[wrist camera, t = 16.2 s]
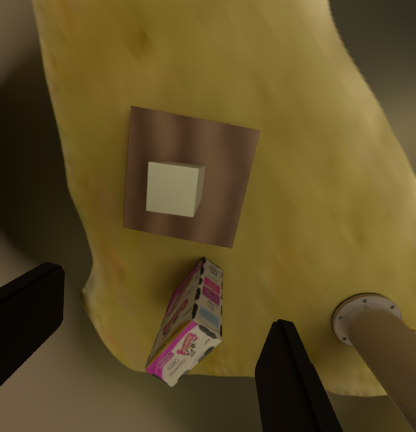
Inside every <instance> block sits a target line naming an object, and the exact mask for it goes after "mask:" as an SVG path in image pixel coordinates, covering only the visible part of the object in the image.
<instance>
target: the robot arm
mask: <svg viewBox="0 0 416 432" xmlns="http://www.w3.org/2000/svg"><path fill="white" fill-rule="evenodd" d="M64 274H65V272H64V270H63V269H62V267H61V266H60V265H57V264H53V263H49V262H45V263H42V264H41V265H39V266H37V267H35V268H34V269H32V270H30V271H28V272H27V273H25V274H23V275H21V276H20V277H18V278H16V279H14V280H13V281H11V282H9V283H7V284H6V285H4V286H2V287H0V386H1V385H2V384H3V383H4V382H5V381H6V380H7V379H8V378H9V377H10V376H11V375H12V374H13V373H14V372H15V371H16V370H17V369H18V368H19V367H20V366H21V365H22V364H23V363H24V362H25V361H26V360H27V359H28V358H29V357H30V356H31V355H32V354H33V353H34V352H35V351H36V350H37V349H38V348H39V347H40V346H41V345H42V344H43V342H45V341H46V340H47V339H48V338H49V337H50V336H51V335H52V334H53V333H54V332H55V331H56V330H57V329H58V327H59V326H60V325H61V323H62V321H63V306H64V305H63V304H64V276H65V275H64ZM332 327H333V330H334V332H335V334H336V335H337V337H338V338H339V339H340V340H341V341H342V342H344V343H345V344H347V345H349V346H352V347H355V349H356V350H357V352H358V353H359V355H360V356H361V357H362V359H363V360H364V362H365V363H366V364H367V366H368V367H369V369H370V370H371V372H372V373H373V374H374V376H375V377H376V379H377V380H378V381H379V383H380V384H381V386H382V387H383V388H384V390H385V391H386V393H387V394H388V396H389V397H390V398H391V400H392V401H393V403H394V404H395V405H396V407H397V408H398V410H399V411H400V412H401V414H402V415H403V417H404V418H405V420H406V421H407V422H408V424H409V425H410V426H411V428H412V429H413V431H414V432H416V330H412V329H410V328H409V327H408V326H406V325H405V324H404V323H403V322H402V321H401V313H400V310H399V308H398V307H397V306H396V305H395V304H394V303H393V302H392V301H391V300H389V299H388V298H387V297H384V296H382V295H378V294H361V295H357V296H354V297H352V298H349V299H348V300H346V301H344V302H343V303H342V304H341V305H340V306H339V307H338V308H337V309H336V311H335V313H334V315H333V318H332ZM255 380H256V387H257V394H258V401H259V408H260V415H261V422H262V429H263V432H343V430H342V428H341V426H340V424H339V421H338V419H337V417H336V415H335V412H334V410H333V408H332V405H331V403H330V401H329V399H328V396H327V394H326V392H325V390H324V387H323V385H322V383H321V380H320V378H319V376H318V374H317V371H316V369H315V367H314V366H313V364H312V363H311V362H310V360H309V357H308V355H307V353H306V350H305V348H304V346H303V343H302V341H301V339H300V336H299V334H298V332H297V329H296V327H295V325H294V323H293V322H290V321H286V320H281V319H278V320H277V322H273V324H272V326H271V329H270V331H269V334H268V336H267V339H266V342H265V344H264V347H263V349H262V352H261V354H260V357H259V360H258V362H257V365H256V368H255Z"/></svg>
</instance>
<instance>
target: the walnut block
mask: <svg viewBox="0 0 416 432" xmlns="http://www.w3.org/2000/svg"><path fill="white" fill-rule="evenodd" d="M259 133H260V130H255V129H250V128H244V127H239V126H234V125H229V124H223V123H218V122H213V121H208V120H203V119H197V118H192V117H187V116H182V115H176V114H171V113H166V112H161V111H155V110H150V109H145V108H140V107H134V106H131V116H130V131H129V146H128V161H127V176H126V190H125V205H124V220H123V227H124V228H129V229H134V230H139V231H145V232H150V233H155V234H160V235H165V236H170V237H176V238H181V239H186V240H191V241H196V242H201V243H207V244H212V245H217V246H222V247H227V248H232V246H233V242H234V238H235V234H236V229H237V225H238V221H239V217H240V213H241V208H242V204H243V200H244V196H245V192H246V187H247V183H248V179H249V175H250V171H251V166H252V162H253V158H254V154H255V150H256V145H257V141H258V137H259ZM148 162H178V163H186V164H193V165H200V166H205V173H204V181H203V189H202V197H201V201H200V203H199V206H198V208H197V210H196V212H195V214H194V217H187V216H180V215H173V214H166V213H159V212H152V211H146V202H147V182H148Z"/></svg>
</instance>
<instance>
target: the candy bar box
mask: <svg viewBox="0 0 416 432" xmlns="http://www.w3.org/2000/svg"><path fill="white" fill-rule="evenodd" d="M222 271H223V270H222V269H220V268H219V267H218V266H216V265H215V264H213V263H212V262H211V261H210V260H208V259H207V258H205V257H203V259H202V260H201V261H200V262H199V263H198V265H197V266H196V267H195V268H194V269H193V270H192V272H191V273H190V274H189V275H188V276H187V277H186V278H185V280H184V281H183V282H182V283H181V284H180V285H179V287H178V288H177V289H176V290H175V291H174V292H173V294H172V297H171V300H170V302H169V305H168V308H167V311H166V313H165V316H164V319H163V321H162V324H161V327H160V329H159V332H158V334H157V337H156V340H155V342H154V345H153V348H152V351H151V353H150V356H149V359H148V361H147V364H146V367H145V371H147V372H148V373H150V374H152V375H153V376H155V377H156V378H158V379H160V380H162V381H163V382H165V383H166V384H168V385H169V386H171V387H173V386H174V385H175V384H176V383H177V382H178V381H179V380H180V379H181V378H182V377H183V376H185V375H186V374H187V373H188V372H189V371H190V370H191V369H192V368H193V367H194V366H195V365H196V364H198V363H199V362H200V361H201V360H202V359H203V358H204V357H205V356H206V355H207V354H208V353H210V351H212V350H213V349H214V348H215V347H216V346H217V345H218V344H219V343H220V342H221V341H222Z"/></svg>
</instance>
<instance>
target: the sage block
mask: <svg viewBox="0 0 416 432" xmlns="http://www.w3.org/2000/svg"><path fill="white" fill-rule="evenodd" d="M204 173H205V166H200V165H193V164H186V163H178V162H148V182H147V202H146V211H152V212H159V213H166V214H173V215H180V216H187V217H194V214H195V212H196V210H197V208H198V206H199V203H200V201H201V197H202V189H203V181H204Z"/></svg>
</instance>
